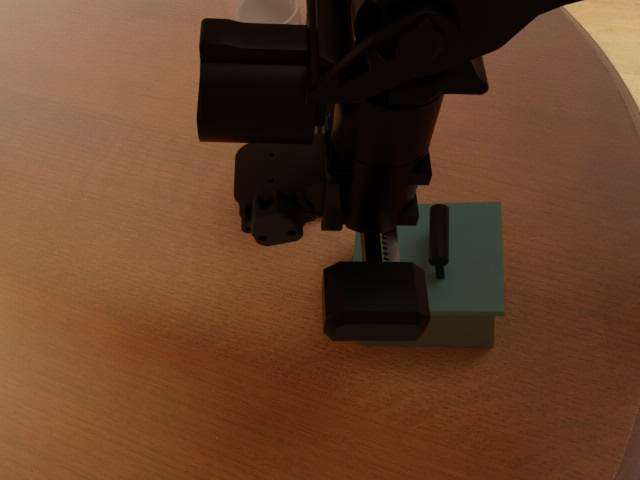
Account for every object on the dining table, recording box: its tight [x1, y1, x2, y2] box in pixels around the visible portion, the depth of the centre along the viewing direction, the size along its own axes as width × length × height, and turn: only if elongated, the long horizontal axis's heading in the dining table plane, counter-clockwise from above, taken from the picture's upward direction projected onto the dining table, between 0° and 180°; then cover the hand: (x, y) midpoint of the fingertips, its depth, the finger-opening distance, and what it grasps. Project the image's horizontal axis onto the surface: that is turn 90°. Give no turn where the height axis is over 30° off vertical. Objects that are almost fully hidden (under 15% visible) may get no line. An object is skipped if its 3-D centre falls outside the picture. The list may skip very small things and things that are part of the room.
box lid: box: [352, 201, 506, 317], centre depth 61 cm, size 12×11×5 cm
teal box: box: [358, 316, 495, 348], centre depth 66 cm, size 12×11×6 cm
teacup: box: [233, 0, 303, 25], centre depth 87 cm, size 10×8×5 cm
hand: (352, 271), depth 56 cm, fingers open, 9 cm apart
